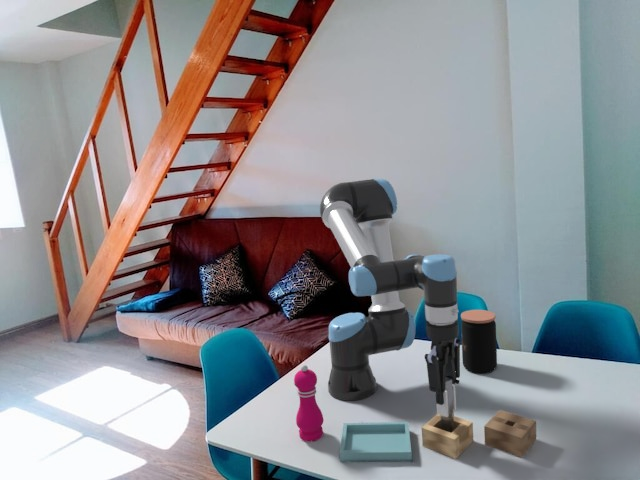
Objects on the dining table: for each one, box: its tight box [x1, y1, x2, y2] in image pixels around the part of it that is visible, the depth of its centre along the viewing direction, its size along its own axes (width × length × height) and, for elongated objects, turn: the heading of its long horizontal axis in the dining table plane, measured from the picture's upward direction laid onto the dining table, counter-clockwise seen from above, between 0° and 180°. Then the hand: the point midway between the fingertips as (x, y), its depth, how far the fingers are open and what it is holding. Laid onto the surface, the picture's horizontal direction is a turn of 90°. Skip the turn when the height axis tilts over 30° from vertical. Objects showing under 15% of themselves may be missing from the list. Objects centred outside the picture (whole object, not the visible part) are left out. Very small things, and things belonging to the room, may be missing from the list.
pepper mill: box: [293, 364, 324, 443], centre depth 130 cm, size 7×7×20 cm
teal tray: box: [339, 421, 413, 463], centre depth 124 cm, size 17×13×2 cm
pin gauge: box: [440, 377, 455, 433], centre depth 121 cm, size 3×3×14 cm
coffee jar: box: [460, 309, 498, 375], centre depth 160 cm, size 11×11×18 cm
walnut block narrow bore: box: [483, 409, 537, 458], centre depth 120 cm, size 9×9×5 cm
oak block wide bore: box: [421, 413, 474, 460], centre depth 122 cm, size 9×9×5 cm
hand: (446, 411), depth 121 cm, fingers closed on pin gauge, 3 cm apart
